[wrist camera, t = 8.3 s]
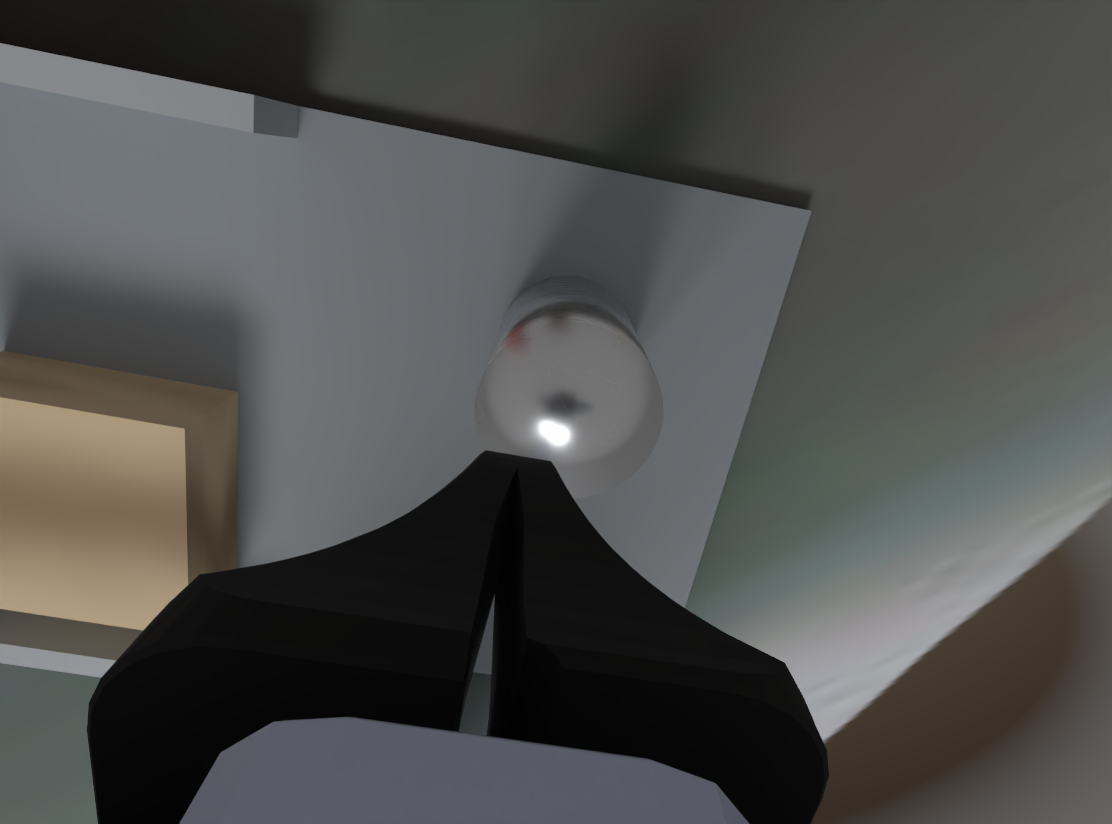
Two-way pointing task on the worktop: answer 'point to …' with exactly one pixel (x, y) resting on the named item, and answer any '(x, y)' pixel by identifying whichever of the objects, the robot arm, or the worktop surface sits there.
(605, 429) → the metal peg
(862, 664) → the worktop surface
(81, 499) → the oak tile
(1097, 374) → the worktop surface
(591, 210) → the parts board
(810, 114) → the worktop surface
